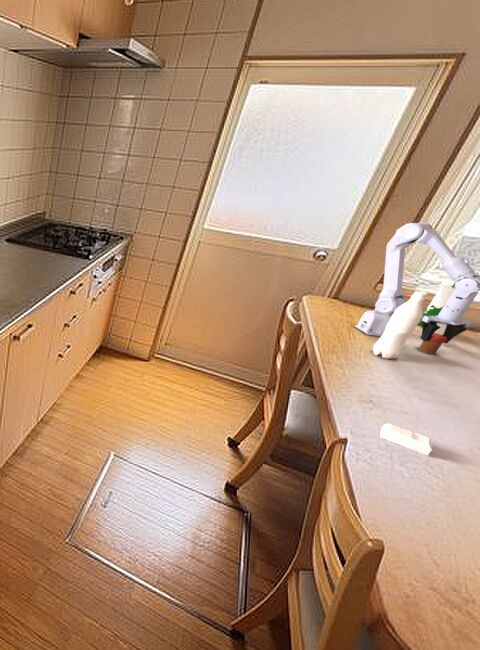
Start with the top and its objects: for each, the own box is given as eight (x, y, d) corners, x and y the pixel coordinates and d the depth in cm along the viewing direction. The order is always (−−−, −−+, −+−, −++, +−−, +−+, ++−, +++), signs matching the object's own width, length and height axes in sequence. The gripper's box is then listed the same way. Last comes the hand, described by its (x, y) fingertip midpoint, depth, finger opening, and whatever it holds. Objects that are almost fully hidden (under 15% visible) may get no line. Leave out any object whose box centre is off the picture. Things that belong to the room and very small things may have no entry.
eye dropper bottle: (445, 343, 168) (463, 316, 163) (426, 338, 171) (443, 311, 165) (442, 339, 171) (460, 312, 166) (424, 335, 174) (441, 308, 169)
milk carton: (449, 330, 181) (478, 286, 172) (440, 332, 177) (469, 288, 168) (423, 321, 188) (450, 279, 179) (414, 324, 184) (440, 281, 175)
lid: (432, 341, 155) (435, 338, 154) (420, 335, 160) (422, 331, 159) (449, 343, 155) (451, 339, 154) (436, 336, 160) (438, 333, 159)
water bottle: (400, 362, 150) (441, 297, 138) (378, 358, 151) (417, 294, 140) (387, 352, 156) (425, 289, 145) (365, 349, 157) (402, 287, 146)
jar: (425, 353, 158) (435, 338, 155) (414, 347, 162) (424, 332, 159) (438, 355, 157) (449, 340, 155) (428, 349, 162) (437, 334, 159)
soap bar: (381, 429, 113) (386, 421, 112) (426, 446, 107) (432, 438, 106) (380, 437, 109) (385, 429, 108) (427, 455, 104) (433, 447, 103)
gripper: (443, 310, 149) (421, 343, 155) (487, 314, 147) (464, 348, 154) (426, 302, 155) (406, 335, 161) (469, 307, 154) (446, 339, 160)
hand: (433, 341), depth 158 cm, fingers open, 6 cm apart
